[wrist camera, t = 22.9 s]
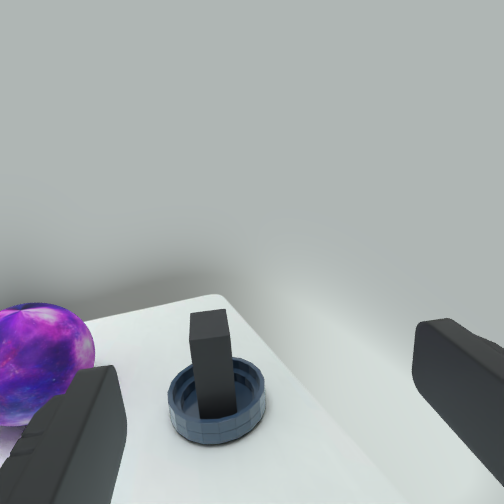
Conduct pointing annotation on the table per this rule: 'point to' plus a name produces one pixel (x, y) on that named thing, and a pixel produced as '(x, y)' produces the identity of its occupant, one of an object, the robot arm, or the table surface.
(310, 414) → the table surface
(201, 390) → the dark grey upright block
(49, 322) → the decorative orb
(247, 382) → the bowl
